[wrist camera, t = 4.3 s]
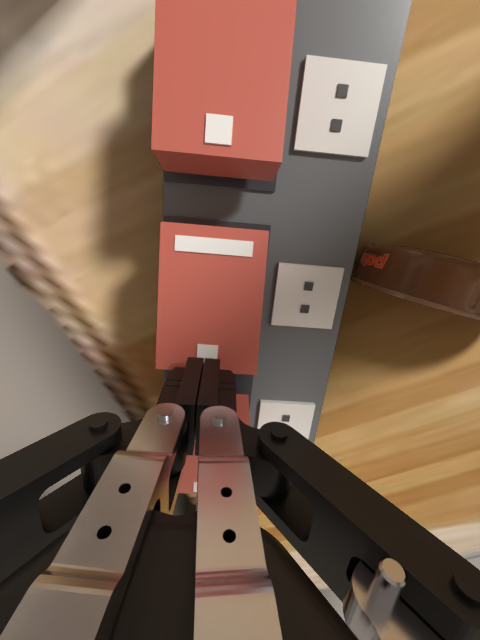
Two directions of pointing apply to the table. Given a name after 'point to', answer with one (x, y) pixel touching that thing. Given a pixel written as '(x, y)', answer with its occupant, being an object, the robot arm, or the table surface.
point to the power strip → (308, 199)
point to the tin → (422, 278)
